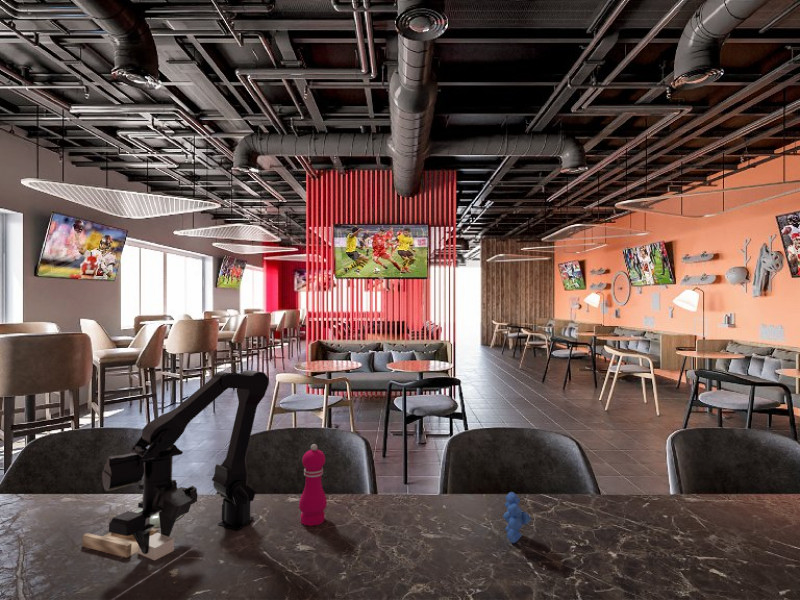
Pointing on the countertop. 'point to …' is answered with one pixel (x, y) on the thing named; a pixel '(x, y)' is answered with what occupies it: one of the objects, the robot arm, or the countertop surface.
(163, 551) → the cream block
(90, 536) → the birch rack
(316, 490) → the pepper mill
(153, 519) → the green plate
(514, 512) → the grapes
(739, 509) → the countertop surface
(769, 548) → the countertop surface
